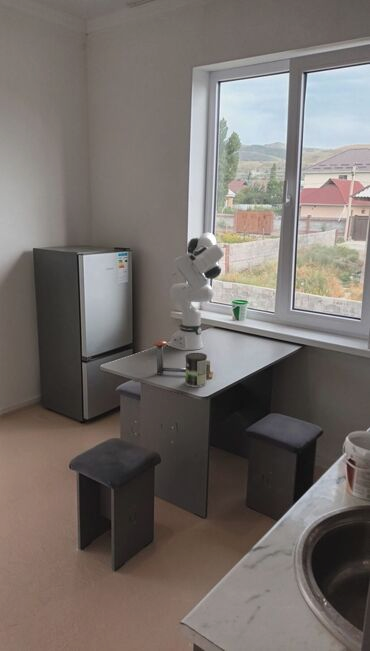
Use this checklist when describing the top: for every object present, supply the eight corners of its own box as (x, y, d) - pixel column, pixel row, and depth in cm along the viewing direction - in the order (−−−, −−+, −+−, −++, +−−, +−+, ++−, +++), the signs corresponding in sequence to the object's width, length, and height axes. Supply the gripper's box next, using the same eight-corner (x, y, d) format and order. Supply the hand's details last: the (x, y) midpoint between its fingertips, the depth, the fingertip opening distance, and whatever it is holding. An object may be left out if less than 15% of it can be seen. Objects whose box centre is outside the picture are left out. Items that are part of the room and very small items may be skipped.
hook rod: (152, 374, 253) (152, 343, 249) (155, 370, 259) (154, 339, 255) (195, 376, 250) (195, 344, 246) (196, 372, 256) (196, 341, 252)
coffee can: (186, 387, 237) (186, 359, 233) (184, 379, 247) (184, 352, 243) (207, 386, 238) (208, 358, 234) (205, 379, 248) (205, 352, 244)
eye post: (197, 378, 249) (197, 365, 247) (199, 373, 257) (199, 360, 255) (211, 378, 248) (211, 365, 246) (212, 373, 256) (213, 360, 254)
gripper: (207, 282, 268) (187, 297, 266) (185, 251, 264) (164, 266, 262) (210, 282, 262) (190, 298, 260) (188, 250, 258) (167, 266, 256)
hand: (177, 282), depth 261 cm, fingers open, 8 cm apart
